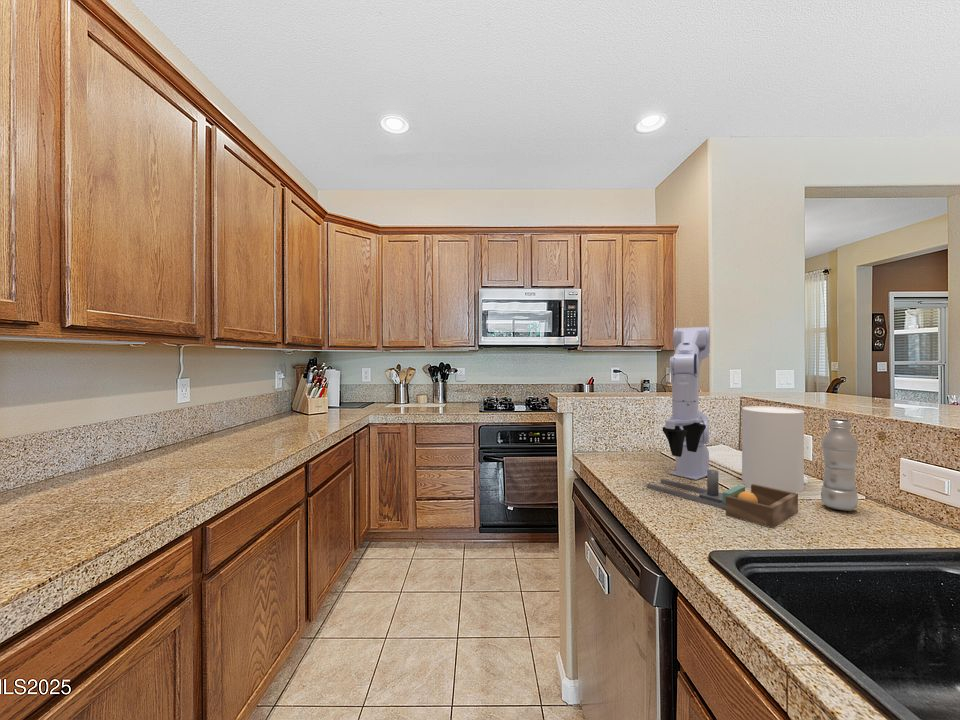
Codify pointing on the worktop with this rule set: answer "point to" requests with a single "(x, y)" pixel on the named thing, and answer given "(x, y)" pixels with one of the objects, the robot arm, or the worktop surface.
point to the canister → (773, 447)
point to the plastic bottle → (839, 467)
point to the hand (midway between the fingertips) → (684, 453)
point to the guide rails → (685, 495)
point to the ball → (748, 496)
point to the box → (764, 506)
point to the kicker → (713, 488)
